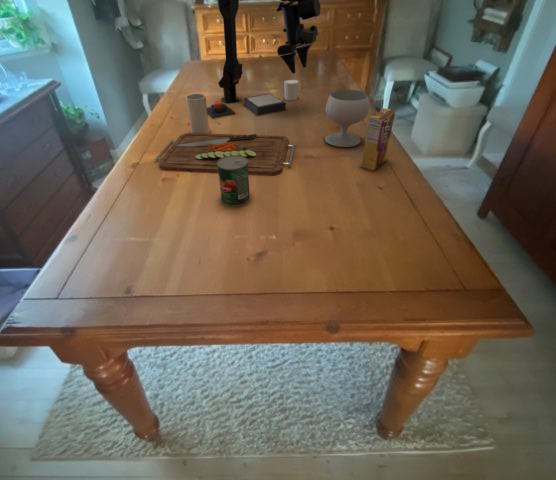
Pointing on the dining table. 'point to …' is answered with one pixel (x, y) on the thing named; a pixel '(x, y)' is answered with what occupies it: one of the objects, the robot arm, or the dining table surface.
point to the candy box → (377, 138)
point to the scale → (264, 104)
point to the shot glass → (291, 89)
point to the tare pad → (219, 111)
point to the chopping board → (226, 152)
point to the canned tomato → (233, 180)
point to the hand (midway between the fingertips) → (299, 70)
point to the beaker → (198, 113)
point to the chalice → (346, 115)
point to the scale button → (218, 104)
